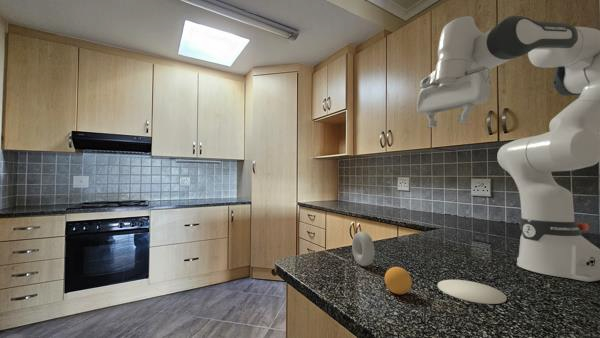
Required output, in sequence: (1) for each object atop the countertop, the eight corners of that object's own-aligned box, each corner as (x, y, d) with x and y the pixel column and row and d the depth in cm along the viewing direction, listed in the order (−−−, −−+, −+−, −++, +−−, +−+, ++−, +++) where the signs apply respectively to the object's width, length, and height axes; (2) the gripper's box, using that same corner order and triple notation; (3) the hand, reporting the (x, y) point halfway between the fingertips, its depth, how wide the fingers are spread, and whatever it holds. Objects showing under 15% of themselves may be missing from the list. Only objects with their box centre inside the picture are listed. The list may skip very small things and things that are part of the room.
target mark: (474, 279, 66) (474, 278, 66) (523, 302, 53) (523, 301, 53) (426, 281, 64) (426, 280, 64) (464, 305, 51) (464, 304, 51)
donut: (377, 270, 72) (376, 234, 73) (366, 271, 71) (365, 234, 72) (359, 260, 82) (359, 228, 83) (350, 261, 81) (349, 229, 82)
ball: (403, 288, 60) (403, 263, 60) (417, 298, 54) (416, 271, 55) (380, 288, 59) (380, 263, 60) (391, 299, 54) (391, 271, 54)
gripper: (498, 67, 65) (492, 121, 65) (430, 88, 84) (425, 130, 84) (482, 60, 63) (475, 116, 62) (415, 83, 82) (410, 126, 81)
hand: (446, 124), depth 73 cm, fingers open, 8 cm apart
